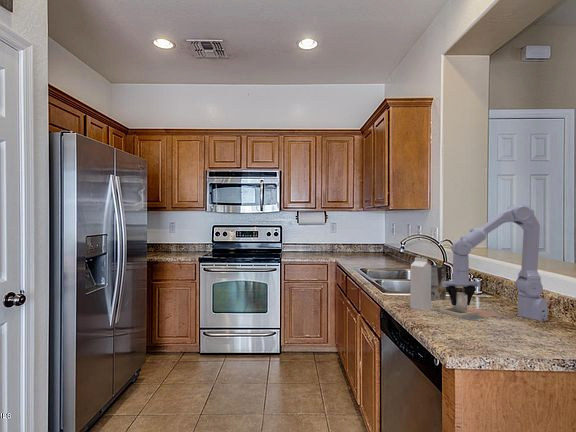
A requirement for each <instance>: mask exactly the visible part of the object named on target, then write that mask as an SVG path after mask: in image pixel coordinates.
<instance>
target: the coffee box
mask: <svg viewBox="0 0 576 432" xmlns="http://www.w3.org/2000/svg"><path fill="white" fill-rule="evenodd" d="M430 265H431V264H430ZM443 281H447V265H440V264H439V265H438V264H432V265H431V302H434V301H441V300H446V299H447V289H446V287H443V286H442V282H443Z"/></svg>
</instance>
